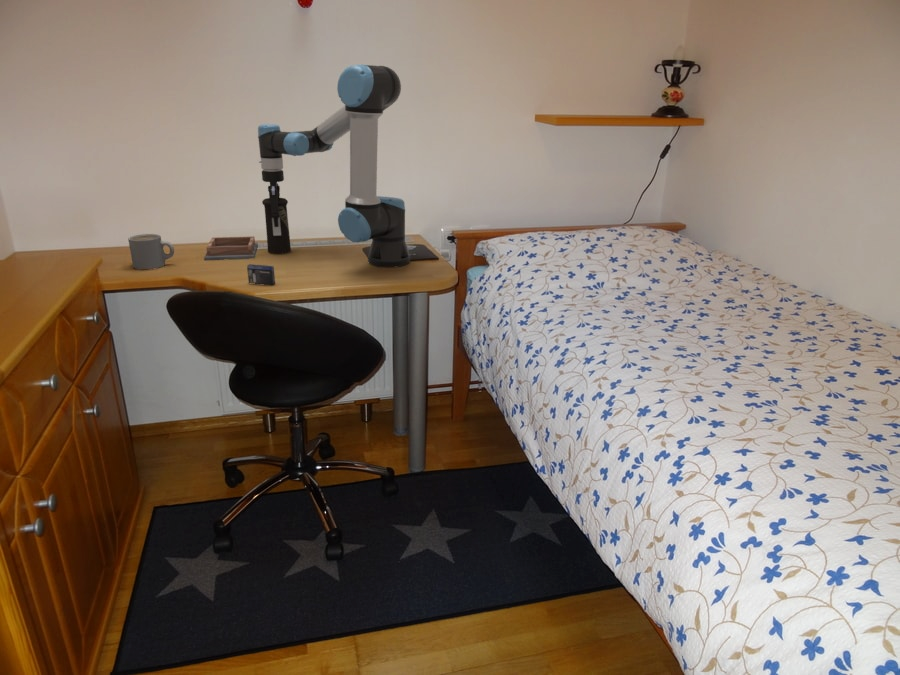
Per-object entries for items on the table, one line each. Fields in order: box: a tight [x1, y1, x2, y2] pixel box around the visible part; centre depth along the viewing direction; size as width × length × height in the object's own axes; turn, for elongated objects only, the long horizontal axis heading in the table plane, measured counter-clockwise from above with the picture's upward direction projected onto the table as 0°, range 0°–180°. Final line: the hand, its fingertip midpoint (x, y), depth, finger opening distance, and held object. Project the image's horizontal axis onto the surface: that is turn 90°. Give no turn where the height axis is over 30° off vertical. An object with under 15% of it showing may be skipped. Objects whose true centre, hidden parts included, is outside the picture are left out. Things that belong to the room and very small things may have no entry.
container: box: [261, 197, 292, 255], centre depth 229 cm, size 9×9×20 cm
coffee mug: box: [128, 233, 175, 270], centre depth 210 cm, size 13×10×10 cm
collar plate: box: [203, 236, 259, 261], centre depth 229 cm, size 20×17×4 cm
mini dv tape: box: [246, 263, 276, 286], centre depth 195 cm, size 8×2×6 cm, turn 80°
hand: (277, 232), depth 230 cm, fingers closed on container, 8 cm apart
